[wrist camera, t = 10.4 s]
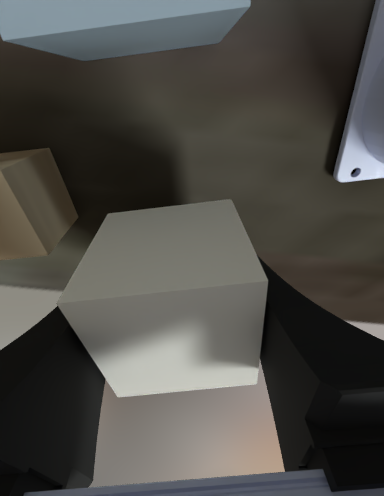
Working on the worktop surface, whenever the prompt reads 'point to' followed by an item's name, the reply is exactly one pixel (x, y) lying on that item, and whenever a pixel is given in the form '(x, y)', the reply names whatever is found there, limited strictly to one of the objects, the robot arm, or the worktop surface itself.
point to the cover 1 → (116, 25)
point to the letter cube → (32, 204)
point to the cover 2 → (170, 300)
